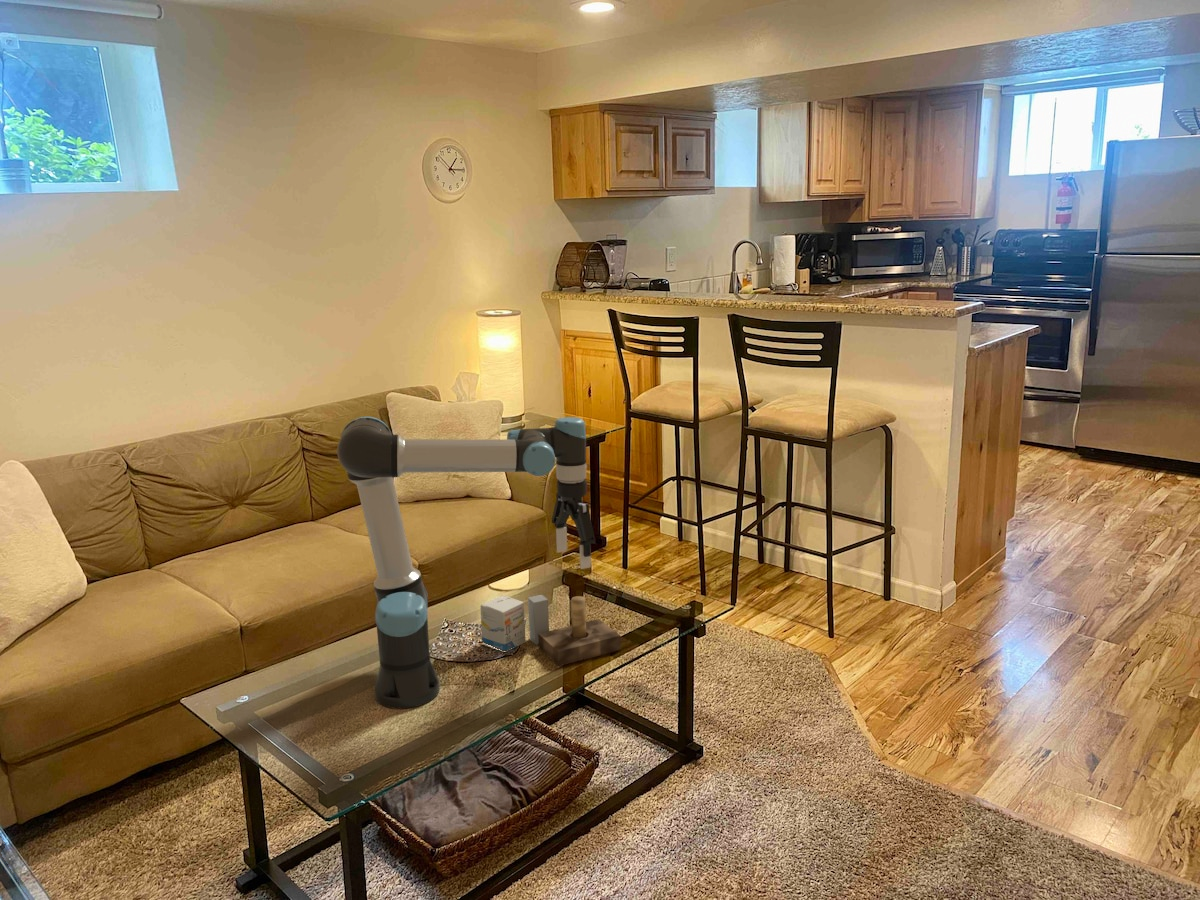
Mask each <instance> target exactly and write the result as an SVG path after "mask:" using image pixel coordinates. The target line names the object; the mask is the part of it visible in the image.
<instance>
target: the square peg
mask: <svg viewBox="0 0 1200 900" xmlns="http://www.w3.org/2000/svg"><path fill="white" fill-rule="evenodd" d="M527 603H528V604H527V606H528V625H529V626H528V627H529V628H528V629H529V640H530V641H531V642H532V643H533V644H534V645H536V646H537V645H539V637H538V634H539V633H543V632H547V631H550V621H549V619H550V617H549V615H550V614H549V599H548V598H547V597H545V596H544V594H539V595H533V596H528V597H527Z"/></svg>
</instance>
